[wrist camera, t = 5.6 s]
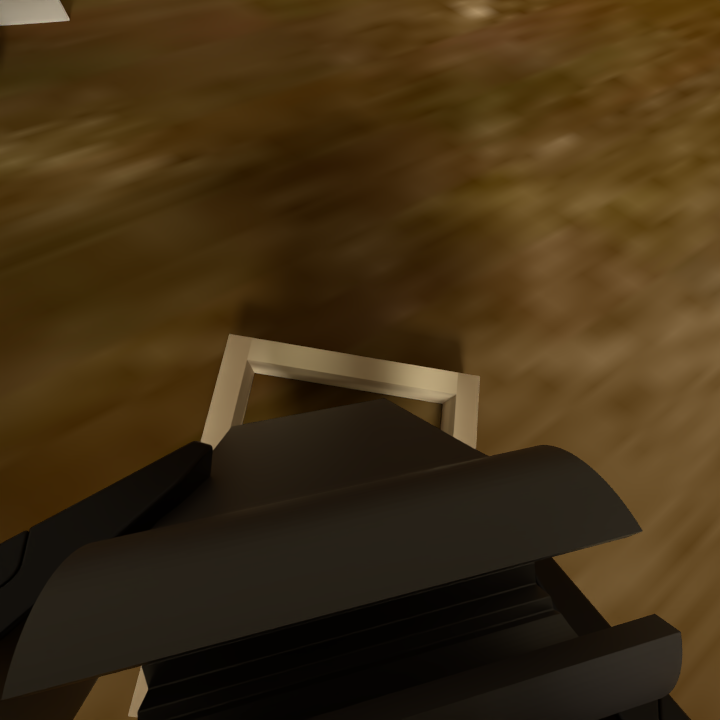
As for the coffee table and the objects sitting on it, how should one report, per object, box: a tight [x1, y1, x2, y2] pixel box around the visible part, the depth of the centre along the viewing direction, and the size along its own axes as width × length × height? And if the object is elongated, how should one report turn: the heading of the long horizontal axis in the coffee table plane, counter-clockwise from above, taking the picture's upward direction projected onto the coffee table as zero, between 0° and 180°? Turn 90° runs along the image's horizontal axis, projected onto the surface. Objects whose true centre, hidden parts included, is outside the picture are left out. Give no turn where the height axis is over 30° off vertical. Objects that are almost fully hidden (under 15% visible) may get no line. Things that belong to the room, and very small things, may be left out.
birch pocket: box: [128, 334, 480, 717], centre depth 20 cm, size 13×16×2 cm
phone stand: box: [1, 398, 682, 720], centre depth 9 cm, size 9×6×12 cm, turn 11°
